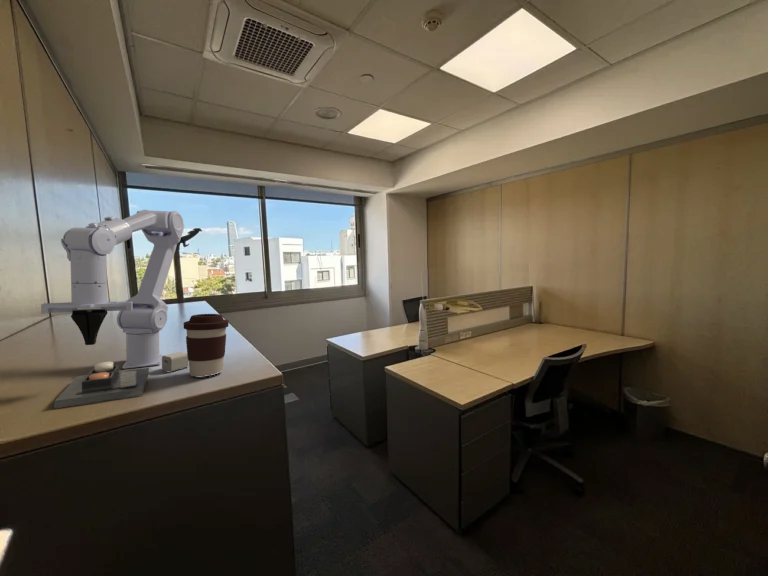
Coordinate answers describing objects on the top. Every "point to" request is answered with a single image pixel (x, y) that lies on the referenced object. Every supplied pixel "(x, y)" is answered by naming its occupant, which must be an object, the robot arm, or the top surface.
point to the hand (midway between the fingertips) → (90, 344)
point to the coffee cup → (206, 343)
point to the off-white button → (103, 366)
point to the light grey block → (128, 378)
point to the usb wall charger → (174, 361)
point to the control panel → (101, 388)
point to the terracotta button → (99, 376)
